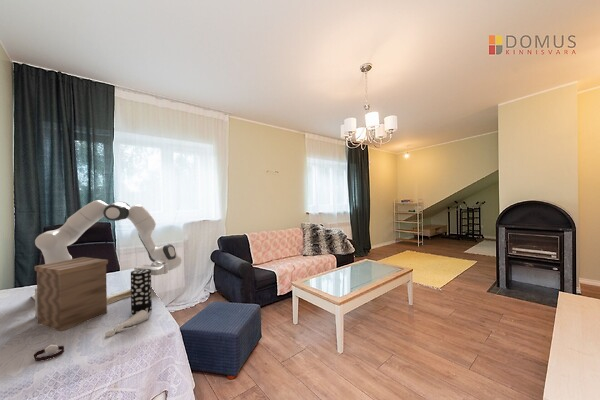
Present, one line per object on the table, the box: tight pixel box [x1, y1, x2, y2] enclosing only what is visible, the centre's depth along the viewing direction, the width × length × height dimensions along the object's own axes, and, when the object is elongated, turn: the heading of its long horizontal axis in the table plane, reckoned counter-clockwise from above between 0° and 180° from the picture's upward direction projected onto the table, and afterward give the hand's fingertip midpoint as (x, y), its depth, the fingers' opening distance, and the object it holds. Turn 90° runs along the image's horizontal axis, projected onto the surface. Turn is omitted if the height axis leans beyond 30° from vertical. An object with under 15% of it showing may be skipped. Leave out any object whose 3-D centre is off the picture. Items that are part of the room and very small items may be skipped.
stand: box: [34, 256, 109, 332], centre depth 109 cm, size 20×18×26 cm
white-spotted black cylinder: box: [130, 269, 153, 317], centre depth 114 cm, size 8×8×20 cm
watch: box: [33, 344, 65, 362], centre depth 82 cm, size 8×5×4 cm, turn 115°
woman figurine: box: [104, 310, 152, 338], centre depth 101 cm, size 12×4×18 cm
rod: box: [107, 288, 131, 305], centre depth 132 cm, size 3×20×3 cm, turn 158°
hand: (136, 273), depth 139 cm, fingers open, 8 cm apart
